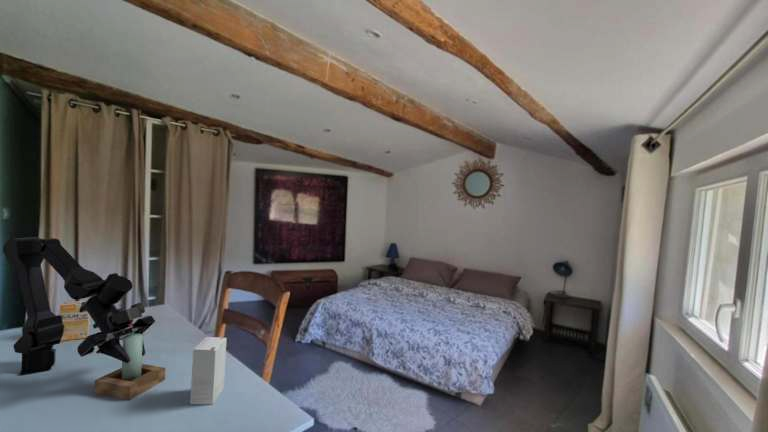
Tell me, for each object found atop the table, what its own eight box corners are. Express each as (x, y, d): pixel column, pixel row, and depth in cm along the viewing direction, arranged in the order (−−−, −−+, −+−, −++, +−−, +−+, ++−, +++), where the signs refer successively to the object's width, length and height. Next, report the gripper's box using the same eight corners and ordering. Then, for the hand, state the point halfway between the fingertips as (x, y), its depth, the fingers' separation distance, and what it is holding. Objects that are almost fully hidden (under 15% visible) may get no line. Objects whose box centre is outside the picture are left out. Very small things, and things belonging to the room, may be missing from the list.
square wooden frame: (94, 393, 92) (94, 380, 92) (132, 373, 103) (133, 362, 103) (129, 400, 90) (129, 386, 90) (164, 379, 101) (165, 367, 101)
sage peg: (118, 385, 94) (120, 339, 93) (126, 377, 98) (127, 333, 98) (136, 384, 95) (138, 339, 94) (143, 376, 99) (145, 333, 99)
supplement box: (57, 342, 122) (58, 305, 121) (60, 337, 126) (61, 301, 125) (88, 338, 126) (89, 302, 126) (90, 334, 130) (91, 299, 130)
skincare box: (202, 388, 97) (205, 336, 97) (225, 388, 98) (227, 336, 97) (189, 405, 89) (191, 348, 88) (213, 405, 89) (216, 348, 89)
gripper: (87, 305, 87) (122, 354, 85) (151, 288, 106) (181, 329, 104) (62, 332, 89) (95, 381, 87) (129, 311, 107) (157, 351, 106)
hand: (136, 358), depth 96 cm, fingers closed on sage peg, 4 cm apart
